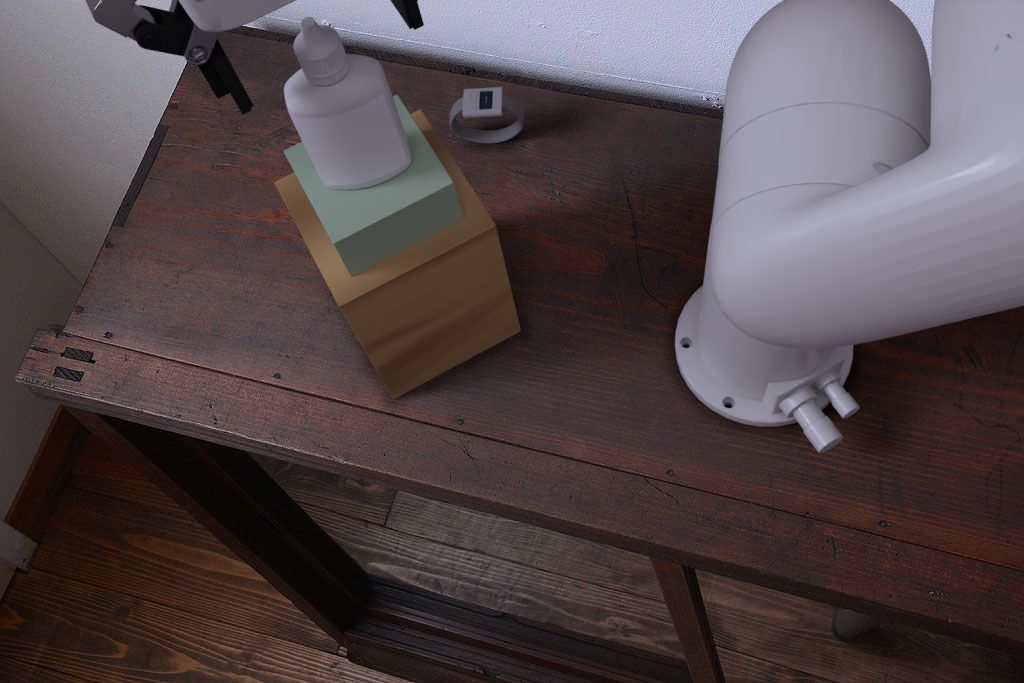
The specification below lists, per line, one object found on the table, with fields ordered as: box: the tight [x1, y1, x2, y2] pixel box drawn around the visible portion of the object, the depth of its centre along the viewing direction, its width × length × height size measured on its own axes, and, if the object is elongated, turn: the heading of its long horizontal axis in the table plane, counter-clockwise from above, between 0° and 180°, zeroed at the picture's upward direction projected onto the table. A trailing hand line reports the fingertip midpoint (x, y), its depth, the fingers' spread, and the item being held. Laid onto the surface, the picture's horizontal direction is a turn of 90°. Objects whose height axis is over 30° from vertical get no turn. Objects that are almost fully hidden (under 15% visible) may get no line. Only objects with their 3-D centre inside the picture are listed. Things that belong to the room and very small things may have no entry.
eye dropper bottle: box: [283, 16, 412, 190], centre depth 54 cm, size 4×6×12 cm
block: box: [283, 94, 464, 277], centre depth 61 cm, size 8×8×4 cm
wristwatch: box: [448, 86, 525, 145], centre depth 80 cm, size 6×3×5 cm, turn 89°
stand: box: [274, 108, 522, 400], centre depth 69 cm, size 11×11×15 cm
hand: (323, 52), depth 50 cm, fingers open, 9 cm apart
